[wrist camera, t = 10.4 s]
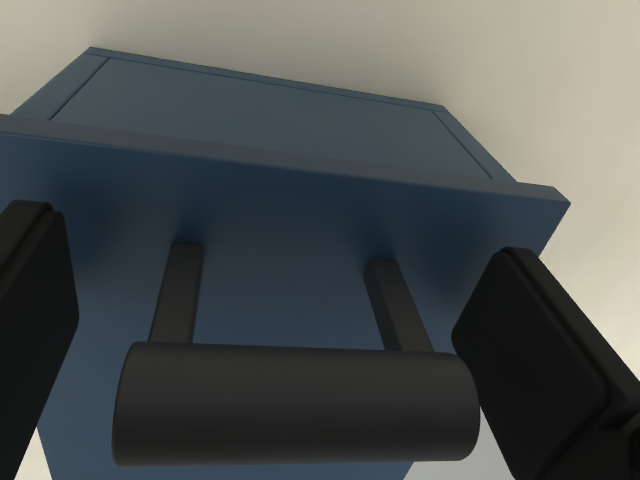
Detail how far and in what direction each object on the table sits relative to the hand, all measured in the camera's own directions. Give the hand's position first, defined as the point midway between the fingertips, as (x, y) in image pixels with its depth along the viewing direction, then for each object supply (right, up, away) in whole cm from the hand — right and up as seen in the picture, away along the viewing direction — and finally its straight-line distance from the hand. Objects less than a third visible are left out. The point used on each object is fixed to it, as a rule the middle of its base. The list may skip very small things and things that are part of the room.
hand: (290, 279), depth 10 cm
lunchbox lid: (-2, -5, +5) cm, 7 cm away
